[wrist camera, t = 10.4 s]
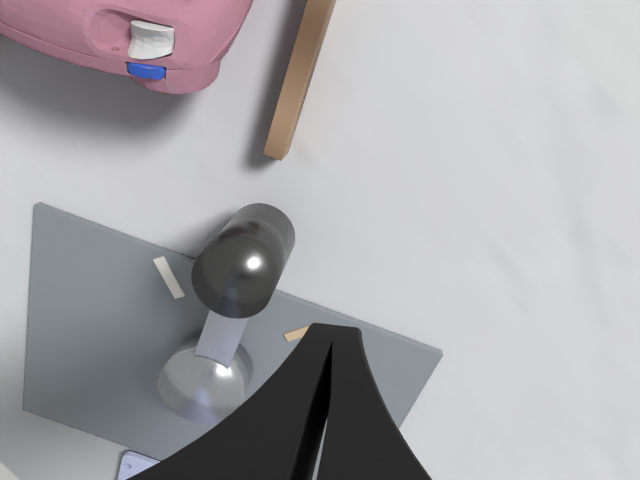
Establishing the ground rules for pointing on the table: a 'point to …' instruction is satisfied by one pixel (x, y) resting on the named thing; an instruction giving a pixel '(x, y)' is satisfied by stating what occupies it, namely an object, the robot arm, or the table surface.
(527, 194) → the table surface
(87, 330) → the plate
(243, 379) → the crank
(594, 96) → the table surface
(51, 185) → the table surface
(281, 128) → the bay
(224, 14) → the video game controller
